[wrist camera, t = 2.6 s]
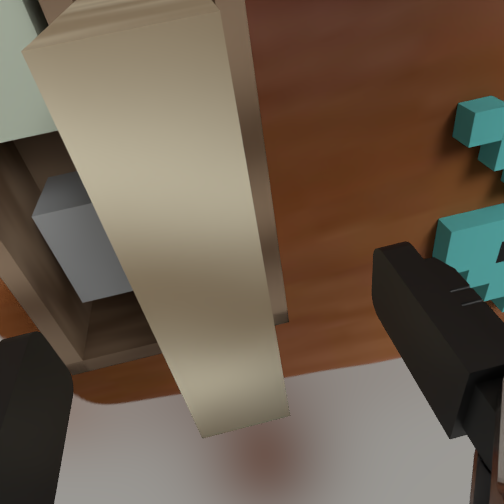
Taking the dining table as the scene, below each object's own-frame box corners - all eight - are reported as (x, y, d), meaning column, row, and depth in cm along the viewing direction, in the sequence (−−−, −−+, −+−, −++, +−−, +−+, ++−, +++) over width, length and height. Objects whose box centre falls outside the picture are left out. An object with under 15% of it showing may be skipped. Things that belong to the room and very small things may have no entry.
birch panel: (108, -30, 18) (21, 51, 6) (176, -44, 18) (219, 10, 6) (180, 203, 25) (202, 438, 14) (228, 193, 25) (289, 415, 14)
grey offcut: (48, 177, 23) (31, 216, 20) (119, 161, 23) (114, 198, 20) (91, 259, 27) (82, 302, 23) (152, 244, 27) (152, 286, 24)
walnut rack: (-190, -194, 14) (-402, -267, 9) (179, -256, 15) (194, -362, 9) (87, 292, 29) (72, 375, 24) (264, 251, 30) (288, 321, 25)
